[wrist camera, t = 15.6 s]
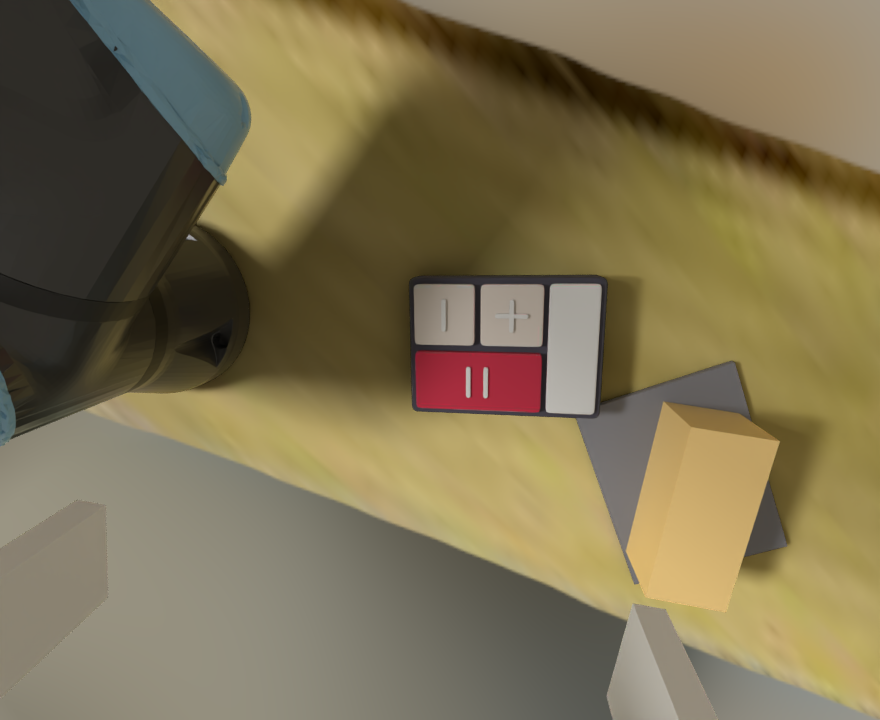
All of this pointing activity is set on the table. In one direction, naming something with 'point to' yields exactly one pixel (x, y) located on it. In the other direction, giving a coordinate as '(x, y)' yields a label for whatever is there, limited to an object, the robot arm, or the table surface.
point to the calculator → (508, 344)
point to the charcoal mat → (631, 438)
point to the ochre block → (698, 504)
